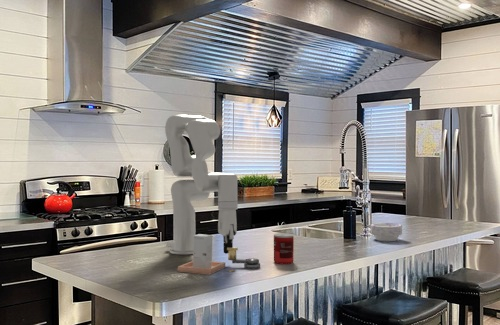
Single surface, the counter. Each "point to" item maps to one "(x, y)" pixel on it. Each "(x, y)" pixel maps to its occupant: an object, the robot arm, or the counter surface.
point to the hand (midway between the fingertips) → (228, 252)
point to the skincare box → (202, 251)
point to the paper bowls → (386, 231)
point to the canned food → (283, 248)
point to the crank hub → (251, 266)
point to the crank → (233, 257)
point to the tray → (189, 268)
